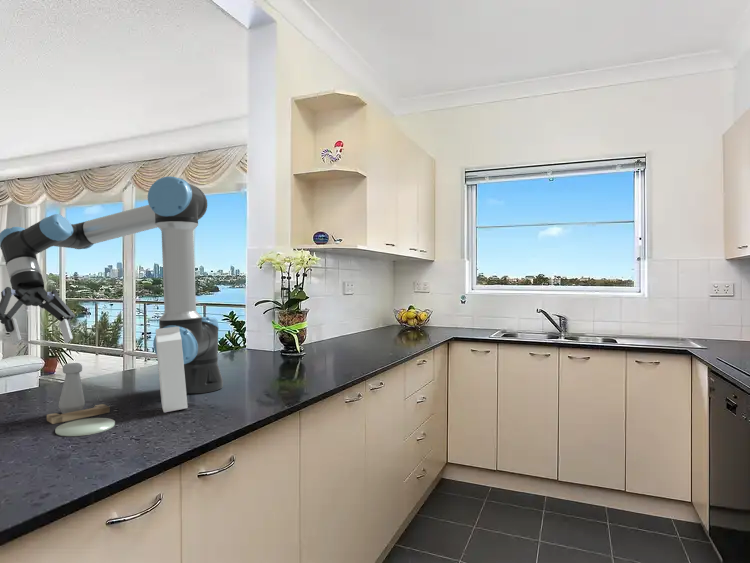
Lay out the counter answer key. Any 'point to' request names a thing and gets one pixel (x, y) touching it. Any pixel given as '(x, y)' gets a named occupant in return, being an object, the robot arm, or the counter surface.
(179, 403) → the milk
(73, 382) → the salt shaker
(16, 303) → the robot arm
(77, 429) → the disc
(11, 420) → the counter surface
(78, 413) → the oak holder
